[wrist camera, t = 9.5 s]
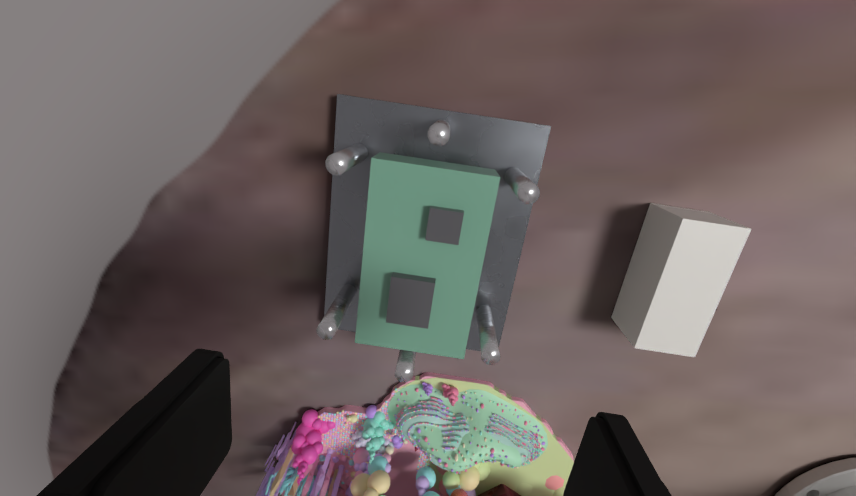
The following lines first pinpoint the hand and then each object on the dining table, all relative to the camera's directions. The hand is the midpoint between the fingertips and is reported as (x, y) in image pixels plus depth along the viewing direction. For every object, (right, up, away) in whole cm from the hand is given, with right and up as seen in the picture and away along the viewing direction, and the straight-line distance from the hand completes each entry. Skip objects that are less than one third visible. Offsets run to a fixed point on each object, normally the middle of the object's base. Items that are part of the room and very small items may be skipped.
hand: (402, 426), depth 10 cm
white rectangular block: (+15, +3, +15) cm, 22 cm away
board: (0, +4, +12) cm, 13 cm away
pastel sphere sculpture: (0, -15, +23) cm, 28 cm away
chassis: (0, +6, +15) cm, 16 cm away
